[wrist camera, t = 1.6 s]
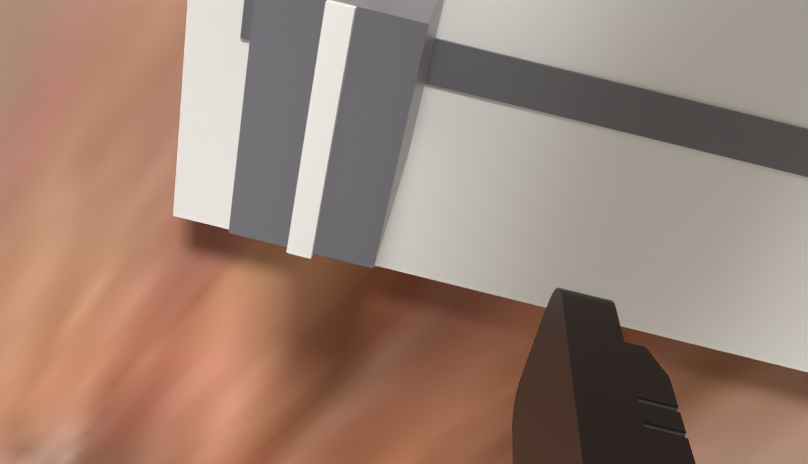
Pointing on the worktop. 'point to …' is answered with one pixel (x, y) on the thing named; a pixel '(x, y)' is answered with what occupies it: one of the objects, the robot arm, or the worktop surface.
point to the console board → (579, 159)
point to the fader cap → (329, 121)
